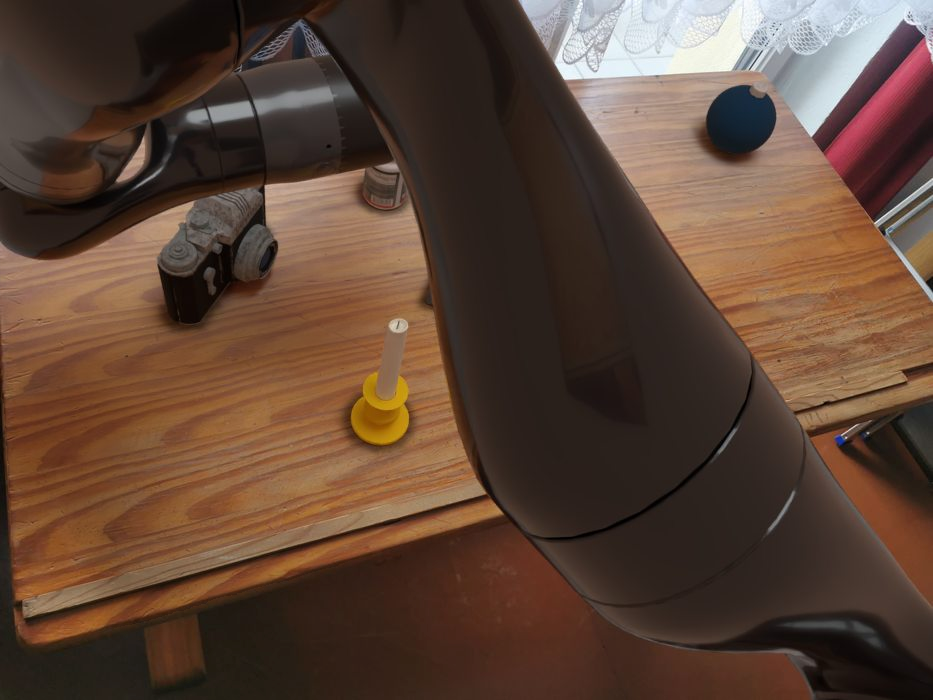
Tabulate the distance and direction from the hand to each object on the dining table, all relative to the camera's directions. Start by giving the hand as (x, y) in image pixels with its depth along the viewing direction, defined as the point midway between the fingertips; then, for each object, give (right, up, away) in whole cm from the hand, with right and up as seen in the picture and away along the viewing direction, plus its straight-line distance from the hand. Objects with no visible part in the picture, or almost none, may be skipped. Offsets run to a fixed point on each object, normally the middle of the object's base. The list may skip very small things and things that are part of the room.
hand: (525, 81), depth 57 cm
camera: (-27, -13, +19) cm, 35 cm away
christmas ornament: (+29, +7, +44) cm, 54 cm away
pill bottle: (-13, -3, +28) cm, 31 cm away
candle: (-12, -26, +13) cm, 32 cm away
